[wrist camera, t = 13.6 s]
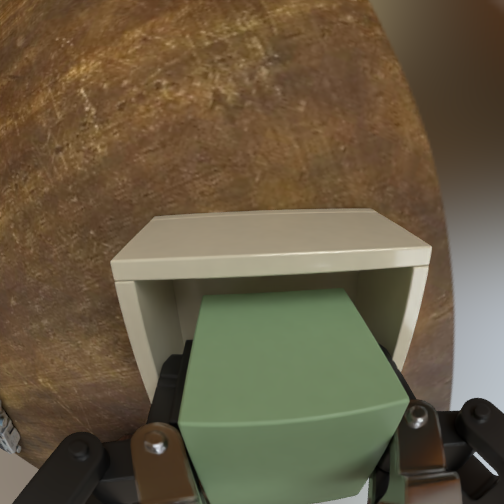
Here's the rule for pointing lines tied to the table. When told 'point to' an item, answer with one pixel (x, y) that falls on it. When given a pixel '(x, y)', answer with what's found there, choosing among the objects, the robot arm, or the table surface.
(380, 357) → the green box
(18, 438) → the camera
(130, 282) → the open square box
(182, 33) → the table surface
